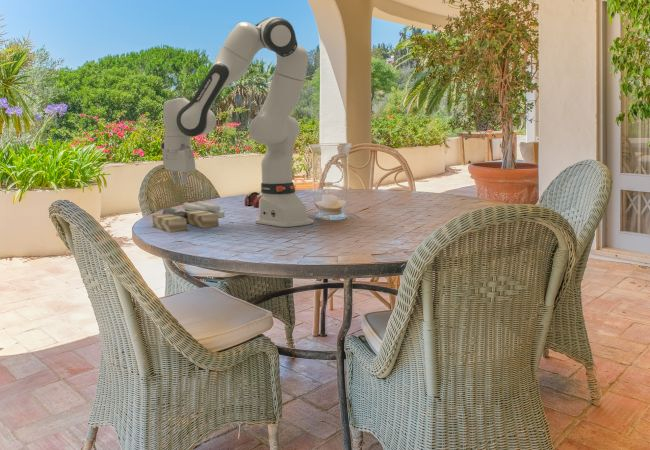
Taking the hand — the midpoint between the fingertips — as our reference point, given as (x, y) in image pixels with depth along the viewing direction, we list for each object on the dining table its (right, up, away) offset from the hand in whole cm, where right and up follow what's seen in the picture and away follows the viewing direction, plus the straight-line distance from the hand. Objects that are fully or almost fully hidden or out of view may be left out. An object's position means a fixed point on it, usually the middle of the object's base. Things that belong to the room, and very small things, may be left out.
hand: (180, 183), depth 202 cm
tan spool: (+2, -15, +1) cm, 15 cm away
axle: (-5, -14, +9) cm, 17 cm away
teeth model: (+22, -7, +49) cm, 54 cm away
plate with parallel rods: (+3, -11, +22) cm, 25 cm away
